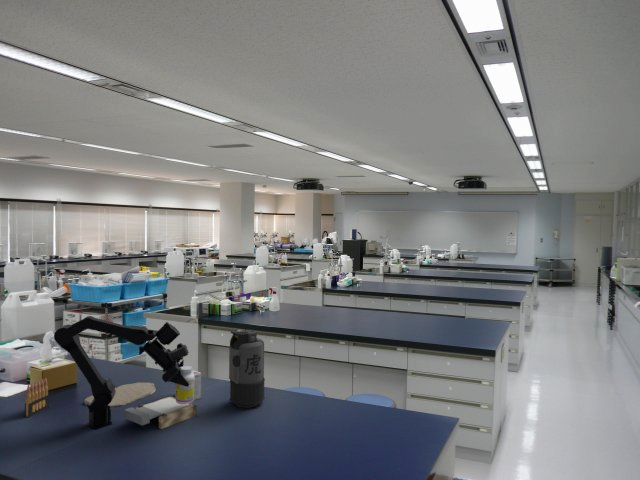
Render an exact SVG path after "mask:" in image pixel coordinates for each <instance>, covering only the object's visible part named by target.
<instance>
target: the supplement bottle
mask: <svg viewBox="0 0 640 480" xmlns="http://www.w3.org/2000/svg"><path fill="white" fill-rule="evenodd" d="M180 368H181V374H182V375H183V377H184V378H185V379H186V381H187V382H188V383H189V386H188V387H186V386H183V385H180V384H176V396H175V398H176V403H178V404H190V403H192V404H193V402H194V401H195V400H194V380H195V376H194V374H192V370H193V367H192V366H191V365H183V367H180Z"/></svg>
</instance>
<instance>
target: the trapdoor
mask: <svg viewBox="0 0 640 480" xmlns="http://www.w3.org/2000/svg"><path fill="white" fill-rule="evenodd" d="M168 397H169V398H167V397H165V398H166V399H164V398H162V399H163V400H161V399H159V400H160V401H158V400H156V401H157V402H155V401H153V402H154V403H152V402H150V403H151V404H148V403H147V404H148V405H145V404H144V405H145V406H143V407H141V408H138V409H135V408H136V407H128V408H126V409H124V410H123V418H124V419H126V420H127V421H131V422H133V423H135V424H137V425H140V426H145V425H148V424H150V423H151V422H150V421H151V420H152V419H154V418H157V417H158V418H159V417H160V416H162V414H163V413H165V414H169V413H171V412H174V411H176V410H179V409H182V408H184V407H187V406H189V404H178V403H176V399H173V398H170V396H168Z"/></svg>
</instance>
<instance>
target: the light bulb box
mask: <svg viewBox="0 0 640 480" xmlns="http://www.w3.org/2000/svg"><path fill="white" fill-rule="evenodd" d="M192 374H194V376H195V380H194V401H195V400H200V399H201V398H202V373H201V372H200V371H196V370H194V369H192ZM174 397H176V383H174Z"/></svg>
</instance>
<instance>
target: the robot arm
mask: <svg viewBox="0 0 640 480" xmlns="http://www.w3.org/2000/svg"><path fill="white" fill-rule="evenodd" d="M86 330H92V331H95V332H100V333H105V334H107V335H112V336H116V337H120V338H122V339H124V340H126V341H127V342H129V343H131V344H133V345H136V346H138V349H139V350H138V355H139V356H140V355H142V354H143V353H144V352H145V353H146V354H147V355H148V356H149V357H150V358H151V359H152V360H153V361H154V364H155V365H156V366H157V365H158V366H159V367H160V368H161V369H162V372H163V373H162V375H161V378H162V380H163V382H165V383H169V382H170V383H173V384H175V383H176V384H180V385H183V386H186V387H188V386H189V383H188V382H187V381H186V379H185V378H184V377H183V375H182V374H181V368H180V367H183V366H185V364H184V363H185V360H184V357H186V356H188V355H189V350H188V346H187V345H186V344H183V343H181V342H180V343H178V344H177V345H176V348H174V349H173V350H171V349H170V348H167V347H165V346H166V345H167V346H169V345H170V344H172V342H174V340H176V339H177V338H178V337H179V336H180V335H181V333H180V331H179V330H178V329H177V327H175V326H173V325H172V324H171V323H170V322H168V321H165V323H164V324H163V325H162V326H161V327H160V328H159V329H158V330H154V329H148V327H146V326H143V325H124V324H121V323H118V322H113V321H108V320H105V319H102V318H101V319H100V318H98V317H94V316H91V315H87V316H86V317H84V318H83V319H80V320H79V321H76V322H74V323H72V324H65V325H63V326H60V327H59V328H57V330H56V331H55V332H54V334H53V340H54V342H56V344H58V346H60V348H62V349H63V350H65V351H66V352H68V354H69V355H70V356H71V358H72V359H73V361H74V363H75V364H76V366H77V367H78V369H79V370H80V372H81V373H82V375H83V376H84V377H85V379H86V381H87V382H88V384H89V386H90V390H91V393H92V395H93V397H94V399H93V400H92V402H91V403H90V405H88V407H87V408H88V422H87V423H86V425H87V426H88V427H90V428H91V429H94V430H97V429H101V428H104V427H106V426H109V425H112V424H113V421H111V420H112V410H111V407H110V406H109V405H108V404H110V403H111V401H112V399H113V398H114V396H115V392H116V390H115V388H117V387H116V385H115V384H114V383H113V381H112V379H111V378H110V377H109V378H107V379H106V378H104V377H103V376H102V375H101V374H100V372H99V370H98V369H97V368H96V366H95V364H94V362H93V361H92V359H91V358H90V356H89V355H88V354H87V352H86V351H85V349H84V347H83V346H82V344H81V339H80V335H79V334H81V333H82V332H84V331H86Z"/></svg>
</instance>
